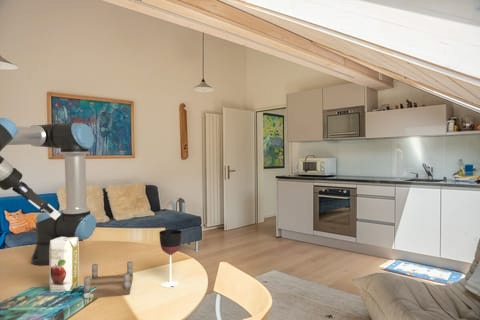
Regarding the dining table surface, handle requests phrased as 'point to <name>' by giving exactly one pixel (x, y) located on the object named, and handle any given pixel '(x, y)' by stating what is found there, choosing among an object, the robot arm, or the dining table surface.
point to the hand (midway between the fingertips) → (50, 212)
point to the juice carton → (63, 263)
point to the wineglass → (170, 249)
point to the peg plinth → (109, 283)
